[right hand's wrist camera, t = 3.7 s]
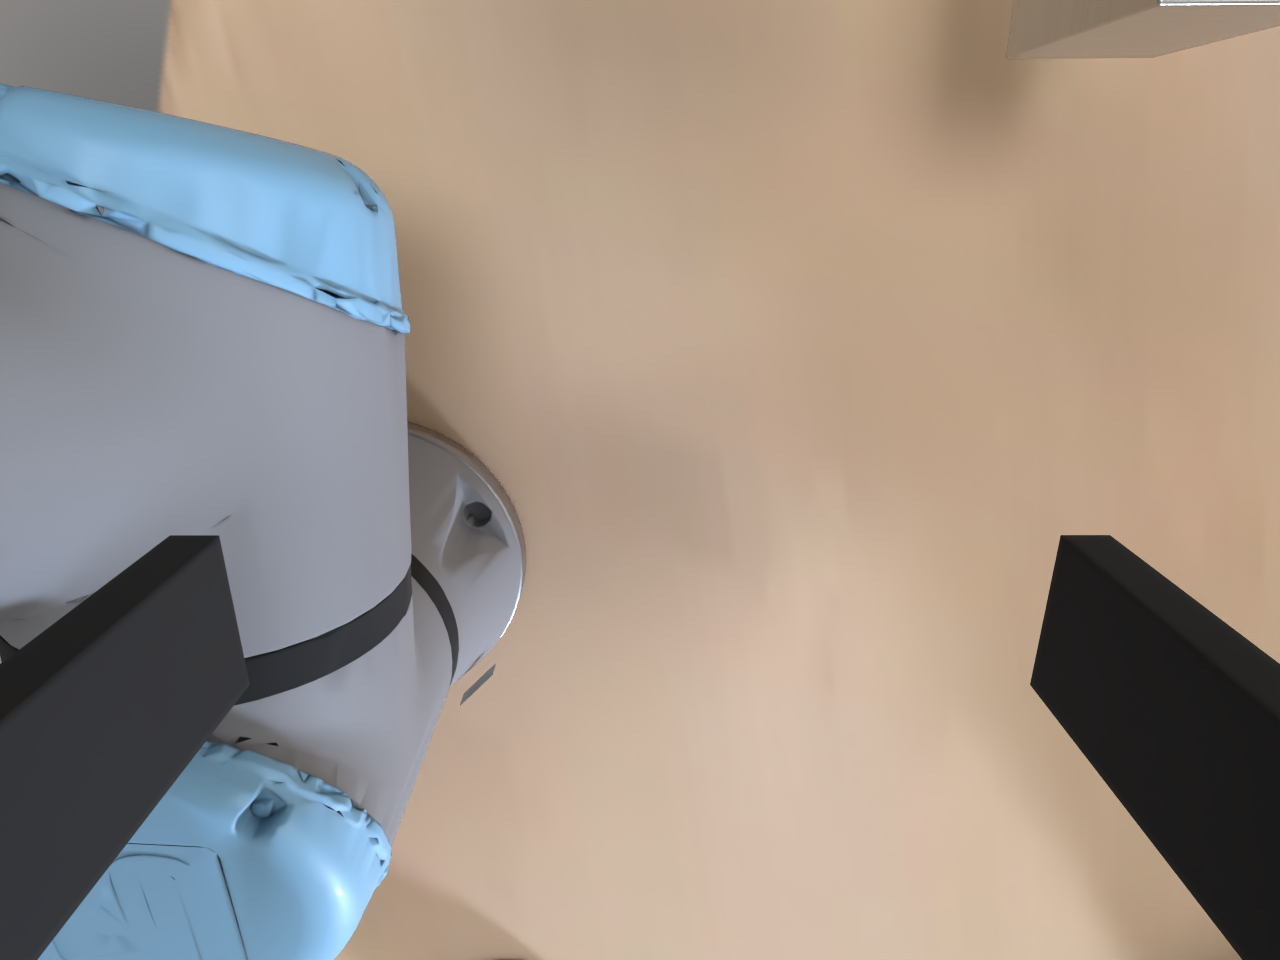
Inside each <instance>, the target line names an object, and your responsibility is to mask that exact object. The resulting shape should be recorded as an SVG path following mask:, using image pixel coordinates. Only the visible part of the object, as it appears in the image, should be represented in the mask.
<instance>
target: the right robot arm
mask: <svg viewBox="0 0 1280 960" xmlns="http://www.w3.org/2000/svg"><path fill="white" fill-rule="evenodd" d="M405 333H410V322H409V318H408V316H407V315H406V314H405V313H404V312H403V310H402V301H401V293H400V284H399V272H398V260H397V248H396V237H395V226H394V220H393V215H392V212H391V209H390V206H389V204H388V202H387V200H386V198H385V196H384V194H383V193H382V191H381V190H380V189H379V187H378V186H377V185H376V183H375V182H374V181H373V180H372V179H371V178H370V177H369V176H368V175H367V174H366V173H365V172H363V171H362V170H361V169H359V168H358V167H356V166H355V165H353V164H352V163H350V162H348V161H346V160H344V159H342V158H339V157H337V156H334V155H331V154H328V153H326V152H322V151H318V150H315V149H311V148H308V147H304V146H300V145H296V144H293V143H289V142H285V141H281V140H277V139H273V138H269V137H265V136H261V135H257V134H252V133H248V132H244V131H240V130H235V129H231V128H227V127H222V126H218V125H214V124H209V123H205V122H200V121H196V120H191V119H186V118H182V117H177V116H173V115H168V114H163V113H159V112H154V111H149V110H144V109H139V108H134V107H129V106H125V105H120V104H114V103H109V102H104V101H100V100H95V99H90V98H85V97H79V96H75V95H69V94H63V93H58V92H53V91H47V90H41V89H36V88H30V87H24V86H21V87H13V86H9V85H6V84H2V83H0V656H1V660H2V663H1V664H0V960H333V959H334V958H335V957H336V956H337V955H338V954H339V953H340V952H341V950H342V949H343V948H344V946H345V945H346V944H347V943H348V941H349V940H350V938H351V936H352V935H353V933H354V931H355V929H356V928H357V926H358V924H359V921H360V919H361V917H362V915H363V912H364V910H365V908H366V906H367V904H368V902H369V900H370V898H371V896H372V894H373V892H374V890H375V888H377V887H378V886H379V885H380V883H381V881H382V880H383V879H384V878H385V876H386V874H387V872H388V865H389V862H390V858H391V855H392V851H391V846H392V843H393V841H394V838H395V835H396V832H397V830H398V827H399V824H400V822H401V819H402V816H403V813H404V811H405V808H406V805H407V802H408V800H409V797H410V794H411V792H412V789H413V786H414V783H415V781H416V778H417V775H418V772H419V770H420V767H421V764H422V762H423V759H424V756H425V753H426V751H427V748H428V745H429V742H430V740H431V737H432V734H433V731H434V729H435V726H436V723H437V721H438V718H439V715H440V712H441V710H442V707H443V704H444V701H445V699H446V696H447V693H448V690H449V688H450V686H452V685H453V684H454V683H455V682H456V681H457V680H458V679H460V678H461V677H462V676H463V675H464V674H465V673H466V672H468V671H469V670H470V669H471V668H472V667H473V666H474V665H475V664H477V663H478V662H479V661H480V660H481V659H482V658H483V657H484V656H485V655H486V654H487V653H488V652H489V651H490V650H491V649H492V648H493V647H494V645H495V644H496V643H497V641H498V640H499V639H500V637H501V636H502V635H503V633H504V632H505V630H506V628H507V627H508V625H509V623H510V621H511V619H512V617H513V615H514V612H515V610H516V607H517V603H518V600H519V597H520V593H521V590H522V586H523V581H524V576H525V566H526V551H525V542H524V536H523V532H522V528H521V524H520V521H519V518H518V516H517V513H516V510H515V508H514V506H513V504H512V502H511V500H510V498H509V497H508V495H507V493H506V492H505V490H504V489H503V487H502V486H501V484H500V483H499V482H498V480H497V479H496V478H495V476H494V475H493V474H492V473H491V472H490V471H489V470H488V469H487V467H486V466H485V465H484V464H483V463H481V462H480V461H479V460H478V459H477V458H476V457H475V456H474V455H472V454H471V453H470V452H468V451H467V450H466V449H465V448H463V447H462V446H460V445H459V444H457V443H455V442H454V441H452V440H451V439H449V438H447V437H445V436H443V435H441V434H439V433H437V432H435V431H433V430H430V429H428V428H425V427H423V426H420V425H416V424H413V423H410V422H407V391H406V353H405ZM495 665H496V664H495ZM495 665H494V666H492V667H491V668H490V669H489V670H488V671H487V672H486V673H485V674H484V675H483V676H482V677H481V678H480V679H479V680H478V681H477V682H476V683H475V684H474V685H472V686H471V687H470V688H469V689H468V690H467V691H466V692H465V693H464V695H463V698H462V701H461V704H462V703H463V702H464V701H465V700H466V699H467V698H469V697H470V696H471V695H472V694H473V693H474V692H475V691H476V690H477V689H478V688H479V687H480V686H481V685H482V684H483V683H484V682H485V681H487V680H488V679H489V678H490V677H491V676H492V675H493V671H494V668H495ZM1030 685H1031V686H1032V688H1033V689H1034V690H1035V692H1036V693H1037V694H1038V695H1039V697H1040V698H1041V699H1042V701H1043V702H1044V703H1045V705H1046V706H1047V707H1048V708H1049V710H1050V711H1051V712H1052V714H1053V715H1054V716H1055V717H1056V719H1057V720H1058V721H1059V723H1060V724H1061V725H1062V727H1063V728H1064V729H1065V730H1066V732H1067V733H1068V734H1069V736H1070V737H1071V738H1072V739H1073V741H1074V742H1075V743H1076V745H1077V746H1078V747H1079V749H1080V750H1081V751H1082V752H1083V754H1084V755H1085V756H1086V758H1087V759H1088V760H1089V762H1090V763H1091V764H1092V765H1093V767H1094V768H1095V769H1096V771H1097V772H1098V773H1099V774H1100V776H1101V777H1102V778H1103V780H1104V781H1105V782H1106V784H1107V785H1108V786H1109V787H1110V789H1111V790H1112V791H1113V793H1114V794H1115V795H1116V797H1117V798H1118V799H1119V800H1120V802H1121V803H1122V804H1123V806H1124V807H1125V808H1126V809H1127V811H1128V812H1129V813H1130V815H1131V816H1132V817H1133V819H1134V820H1135V821H1136V822H1137V824H1138V825H1139V826H1140V828H1141V829H1142V830H1143V831H1144V833H1145V834H1146V835H1147V837H1148V838H1149V839H1150V841H1151V842H1152V843H1153V844H1154V846H1155V847H1156V848H1157V850H1158V851H1159V852H1160V854H1161V855H1162V856H1163V857H1164V859H1165V860H1166V861H1167V863H1168V864H1169V865H1170V866H1171V868H1172V869H1173V870H1174V872H1175V873H1176V874H1177V876H1178V877H1179V878H1180V879H1181V881H1182V882H1183V883H1184V885H1185V886H1186V887H1187V889H1188V890H1189V891H1190V892H1191V894H1192V895H1193V896H1194V898H1195V899H1196V900H1197V901H1198V903H1199V904H1200V905H1201V907H1202V908H1203V909H1204V911H1205V912H1206V913H1207V914H1208V916H1209V917H1210V918H1211V920H1212V921H1213V922H1214V923H1215V925H1216V926H1217V927H1218V929H1219V930H1220V931H1221V933H1222V934H1223V935H1224V936H1225V938H1226V939H1227V940H1228V942H1229V943H1230V944H1231V946H1232V947H1233V948H1234V949H1235V951H1236V952H1237V953H1238V955H1239V956H1240V957H1241V958H1242V960H1280V664H1279V663H1278V662H1276V661H1275V660H1274V659H1272V658H1271V657H1270V656H1268V655H1267V654H1266V653H1264V652H1263V651H1262V650H1260V649H1259V648H1258V647H1257V646H1255V645H1254V644H1253V643H1251V642H1250V641H1249V640H1247V639H1246V638H1245V637H1243V636H1242V635H1241V634H1239V633H1238V632H1237V631H1235V630H1234V629H1233V628H1231V627H1230V626H1229V625H1228V624H1226V623H1225V622H1224V621H1222V620H1221V619H1220V618H1218V617H1217V616H1216V615H1214V614H1213V613H1212V612H1210V611H1209V610H1208V609H1206V608H1205V607H1204V606H1202V605H1201V604H1200V603H1198V602H1197V601H1196V600H1195V599H1193V598H1192V597H1191V596H1189V595H1188V594H1187V593H1185V592H1184V591H1183V590H1181V589H1180V588H1179V587H1177V586H1176V585H1175V584H1173V583H1172V582H1171V581H1169V580H1168V579H1167V578H1166V577H1164V576H1163V575H1162V574H1160V573H1159V572H1158V571H1156V570H1155V569H1154V568H1152V567H1151V566H1150V565H1148V564H1147V563H1146V562H1144V561H1143V560H1142V559H1140V558H1139V557H1138V556H1136V555H1135V554H1134V553H1133V552H1131V551H1130V550H1129V549H1127V548H1126V547H1125V546H1123V545H1122V544H1121V543H1119V542H1118V541H1117V540H1115V539H1114V538H1113V537H1111V536H1110V535H1061V537H1060V542H1059V547H1058V552H1057V556H1056V561H1055V566H1054V571H1053V576H1052V581H1051V586H1050V591H1049V595H1048V600H1047V605H1046V610H1045V615H1044V620H1043V625H1042V630H1041V634H1040V639H1039V644H1038V649H1037V654H1036V659H1035V664H1034V669H1033V673H1032V678H1031V683H1030ZM461 704H460V705H461Z"/></svg>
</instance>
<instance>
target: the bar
mask: <svg viewBox="0 0 1280 960" xmlns="http://www.w3.org/2000/svg"><path fill="white" fill-rule="evenodd" d="M1276 26H1280V0H1014V4H1013V11H1012V18H1011V26H1010V33H1009V40H1008V47H1007V55H1006V57H1007V58H1008V59H1057V58H1153V57H1157V56H1161V55H1165V54H1169V53H1173V52H1177V51H1181V50H1185V49H1189V48H1193V47H1197V46H1201V45H1205V44H1209V43H1213V42H1217V41H1221V40H1225V39H1229V38H1233V37H1237V36H1241V35H1245V34H1249V33H1253V32H1257V31H1260V30H1264V29H1268V28H1272V27H1276Z"/></svg>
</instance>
